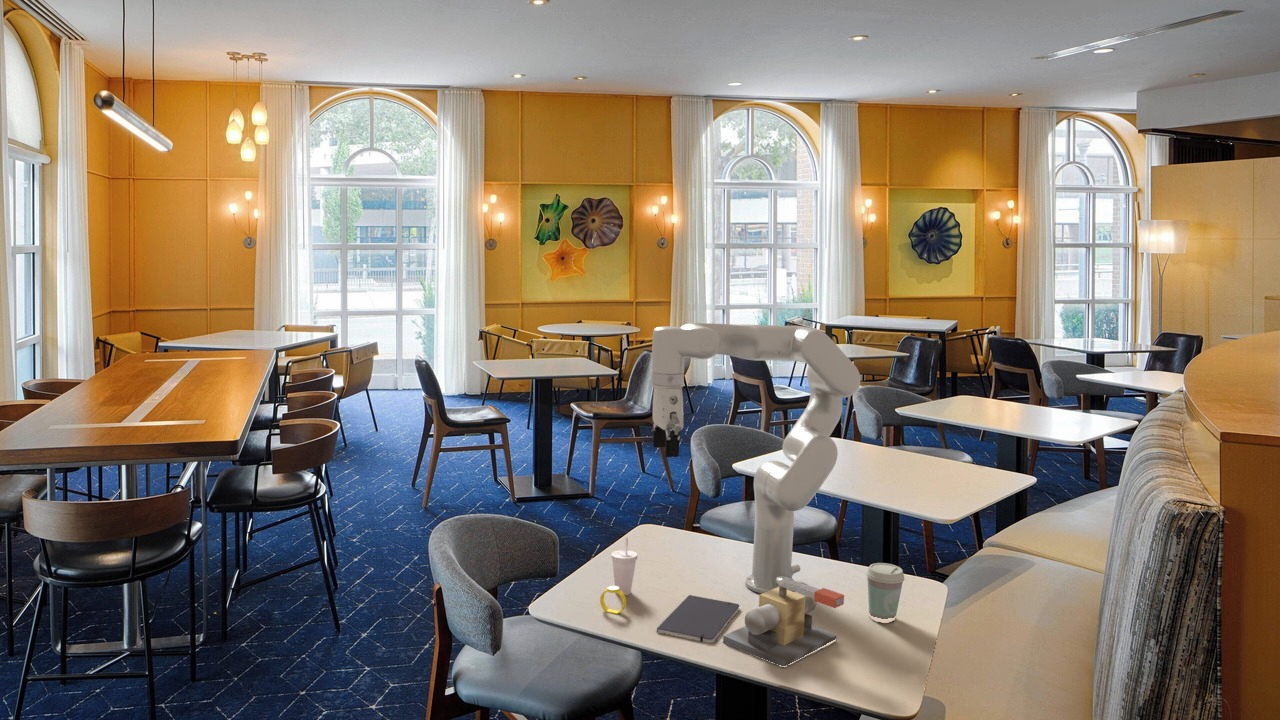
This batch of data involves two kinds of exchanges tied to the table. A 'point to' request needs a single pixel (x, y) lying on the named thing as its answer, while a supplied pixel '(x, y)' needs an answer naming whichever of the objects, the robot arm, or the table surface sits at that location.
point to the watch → (613, 590)
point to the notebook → (699, 618)
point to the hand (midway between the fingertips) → (665, 451)
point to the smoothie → (624, 568)
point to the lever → (812, 592)
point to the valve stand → (780, 628)
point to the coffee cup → (884, 589)
